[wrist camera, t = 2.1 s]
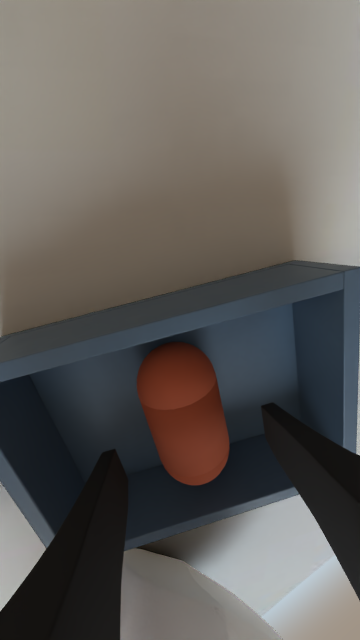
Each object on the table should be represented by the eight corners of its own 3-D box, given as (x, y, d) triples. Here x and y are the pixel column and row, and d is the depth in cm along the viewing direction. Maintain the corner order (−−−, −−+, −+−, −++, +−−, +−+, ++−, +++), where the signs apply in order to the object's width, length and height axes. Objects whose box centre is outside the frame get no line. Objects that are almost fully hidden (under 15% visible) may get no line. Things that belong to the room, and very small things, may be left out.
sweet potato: (222, 432, 17) (246, 490, 13) (164, 449, 16) (171, 514, 12) (198, 322, 14) (219, 353, 10) (129, 341, 14) (122, 380, 10)
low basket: (82, 489, 17) (61, 572, 13) (1, 336, 13) (-70, 381, 9) (305, 421, 18) (355, 476, 14) (295, 259, 14) (362, 266, 10)
